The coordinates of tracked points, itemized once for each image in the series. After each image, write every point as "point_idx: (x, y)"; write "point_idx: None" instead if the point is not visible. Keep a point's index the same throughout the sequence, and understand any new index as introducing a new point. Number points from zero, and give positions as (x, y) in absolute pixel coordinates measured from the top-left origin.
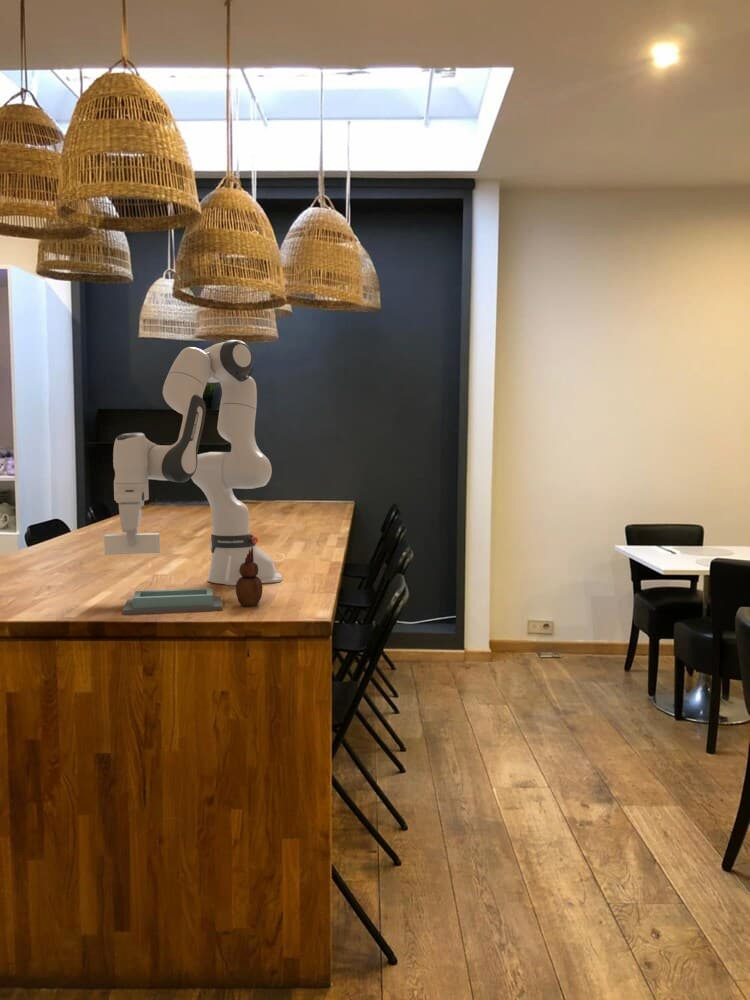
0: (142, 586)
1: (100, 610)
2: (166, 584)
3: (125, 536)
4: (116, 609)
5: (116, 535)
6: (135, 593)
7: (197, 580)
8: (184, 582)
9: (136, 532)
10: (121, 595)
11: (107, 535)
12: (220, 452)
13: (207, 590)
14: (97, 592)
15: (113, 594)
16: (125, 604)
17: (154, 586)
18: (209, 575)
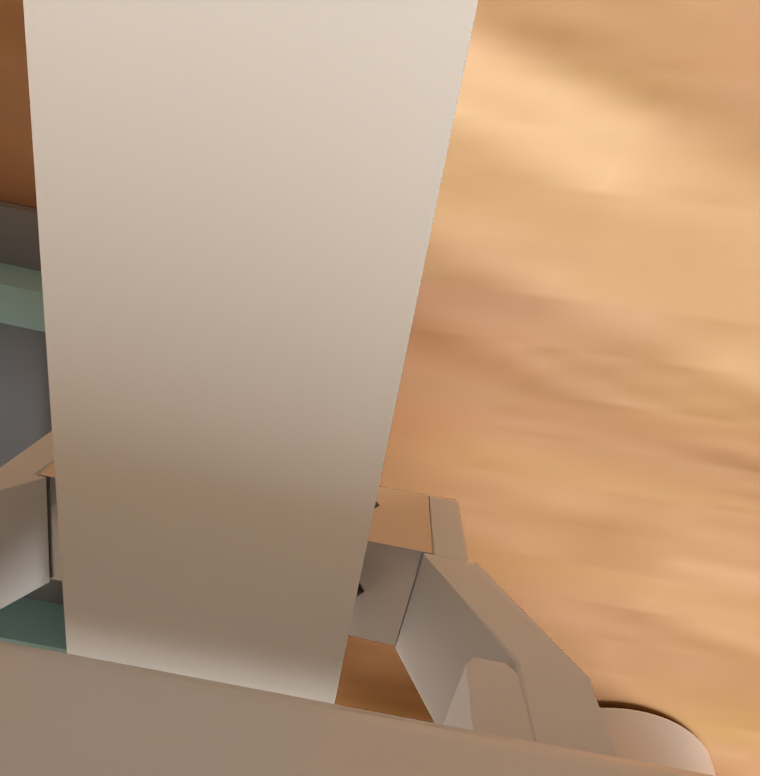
0: (692, 405)
1: (10, 40)
2: (669, 532)
3: (69, 470)
4: (25, 153)
5: (86, 285)
6: (14, 293)
7: (683, 675)
8: (668, 617)
9: (443, 722)
10: (460, 240)
11: (156, 9)
12: None
13: (43, 648)
14: (659, 80)
15: (520, 191)
16: (26, 214)
17: (648, 466)
18: (620, 740)
